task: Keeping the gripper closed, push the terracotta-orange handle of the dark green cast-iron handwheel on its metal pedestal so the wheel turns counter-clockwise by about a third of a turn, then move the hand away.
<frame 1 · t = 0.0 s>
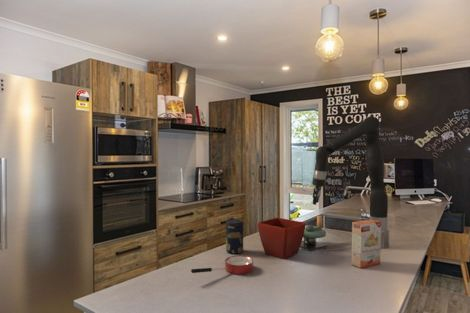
hand: (315, 203, 194), 22 cm above the counter, tool pointing down, fingers open, 8 cm apart
pedestal: (309, 246, 179), on the counter
canister: (234, 252, 169), on the counter
cracker box: (366, 265, 149), on the counter
plant pot: (281, 254, 165), on the counter
frying pan: (224, 275, 136), on the counter
handwheel: (310, 225, 179), point 12 cm above the counter, hinge at 0.0°
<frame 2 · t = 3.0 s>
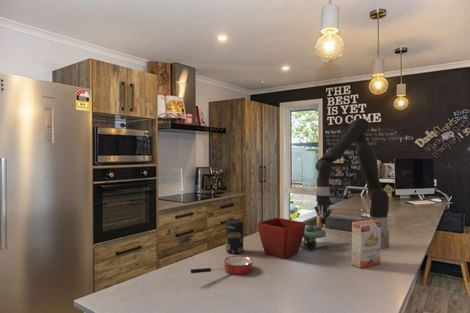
hand: (323, 223, 180), 13 cm above the counter, tool pointing down, fingers closed
handwheel: (310, 225, 179), point 12 cm above the counter, hinge at 0.5°, touching gripper
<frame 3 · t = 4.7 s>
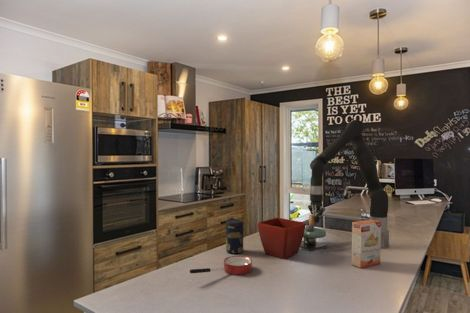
hand: (316, 222, 184), 13 cm above the counter, tool pointing down, fingers closed
handwheel: (309, 225, 180), point 12 cm above the counter, hinge at 32.6°, touching gripper
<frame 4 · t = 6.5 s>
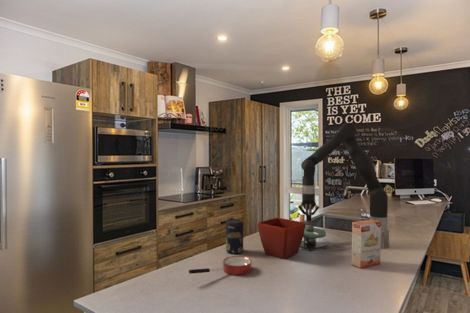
hand: (308, 221, 186), 13 cm above the counter, tool pointing down, fingers closed
handwheel: (309, 225, 180), point 12 cm above the counter, hinge at 69.7°, touching gripper
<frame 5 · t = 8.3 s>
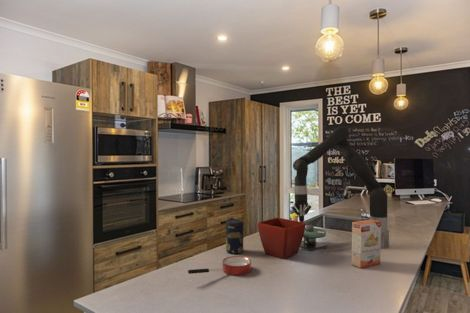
hand: (301, 221, 185), 13 cm above the counter, tool pointing down, fingers closed
handwheel: (308, 225, 179), point 12 cm above the counter, hinge at 107.6°, touching gripper
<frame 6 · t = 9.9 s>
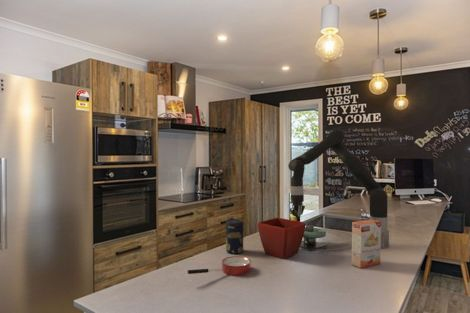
hand: (297, 222, 183), 13 cm above the counter, tool pointing down, fingers closed
handwheel: (308, 226, 179), point 12 cm above the counter, hinge at 136.4°, touching gripper
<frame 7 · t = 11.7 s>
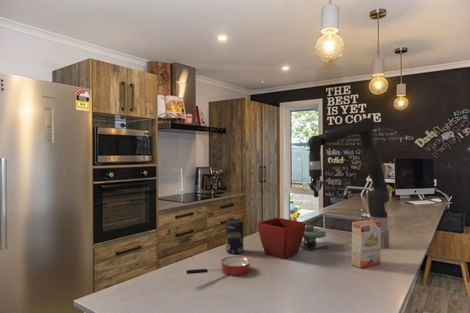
hand: (316, 197, 188), 27 cm above the counter, tool pointing down, fingers closed
handwheel: (308, 226, 179), point 12 cm above the counter, hinge at 138.3°
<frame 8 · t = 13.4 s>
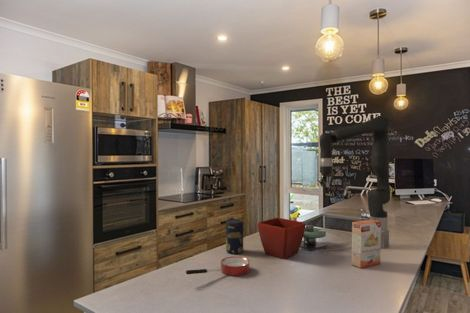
hand: (326, 193, 191), 29 cm above the counter, tool pointing down, fingers closed
at the end: handwheel at +138° (first picture: +0°) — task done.
